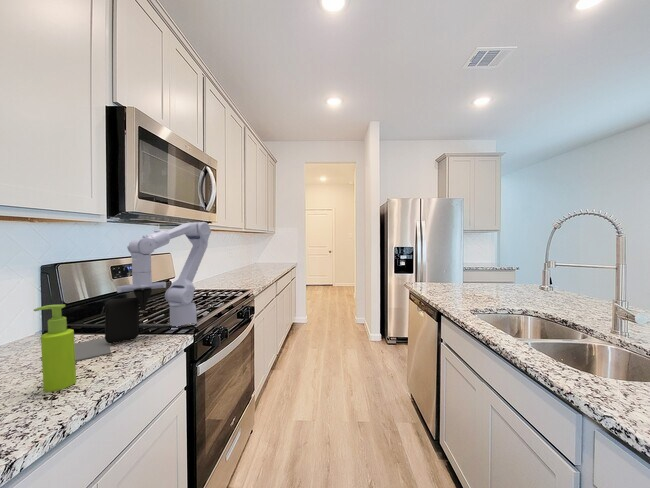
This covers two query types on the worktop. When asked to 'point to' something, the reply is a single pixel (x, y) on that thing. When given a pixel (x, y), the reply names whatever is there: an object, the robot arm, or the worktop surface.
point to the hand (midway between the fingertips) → (142, 310)
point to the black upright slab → (121, 320)
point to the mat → (91, 349)
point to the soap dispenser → (57, 352)
